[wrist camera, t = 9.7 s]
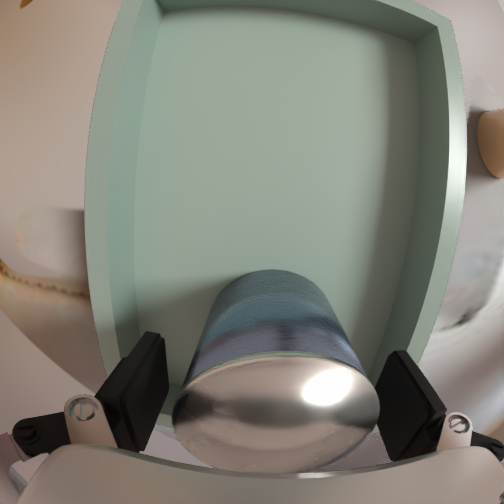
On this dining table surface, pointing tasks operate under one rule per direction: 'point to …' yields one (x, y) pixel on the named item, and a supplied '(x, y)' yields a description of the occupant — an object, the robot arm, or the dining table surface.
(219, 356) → the tin
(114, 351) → the tray
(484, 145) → the jar
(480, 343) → the dining table surface
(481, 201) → the dining table surface
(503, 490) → the robot arm
